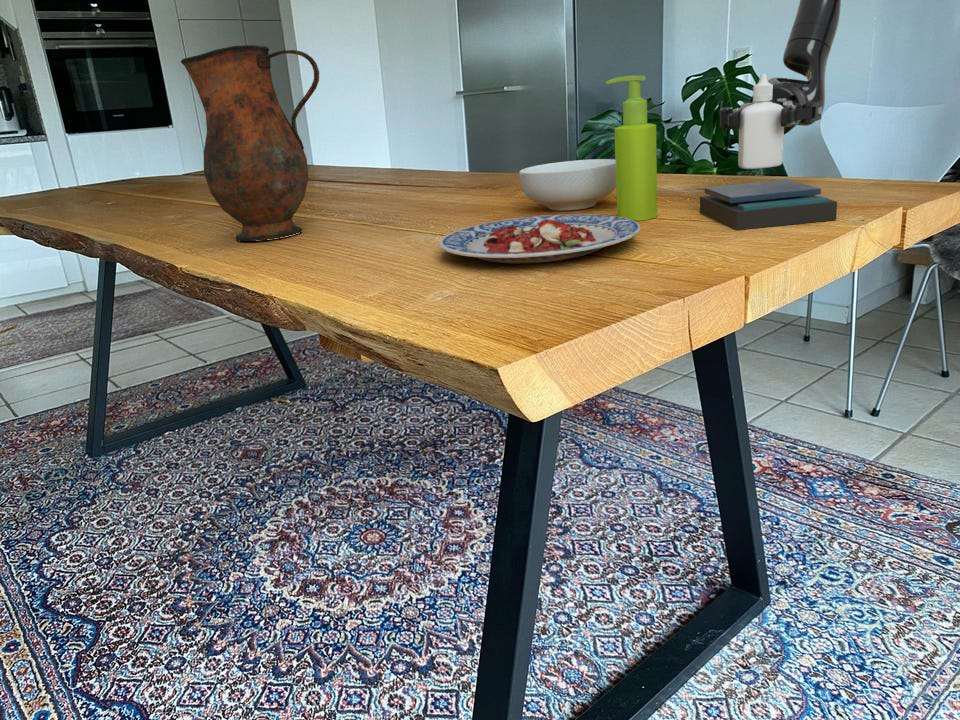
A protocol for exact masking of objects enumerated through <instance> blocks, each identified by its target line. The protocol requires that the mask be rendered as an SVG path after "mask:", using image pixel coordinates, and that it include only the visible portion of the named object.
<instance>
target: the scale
mask: <svg viewBox="0 0 960 720" xmlns="http://www.w3.org/2000/svg"><path fill="white" fill-rule="evenodd" d="M837 210H838V201H837V200H833V199H830V197H825V196H822V195H820V196H819V195H810V196H800V197H790V198H780V199H770V200H760V201H750V202H740V203H729V202H726V201H724V200H721V199H719V198H716V197H714V196H711V195H701V196H699V213H700V214H701V215H704V216H706V217H708V218H710V219H712V220H714V221H716V222H718V223H720V224H722V225H725V226H727V227H729V228H731V229H733V230H735V231H741V230H752V229H761V228H762V229H763V228H771V227H772V228H773V227H783V226H790V225H801V224H802V225H803V224H813V223H823V222H832V221H836V220H837Z"/></svg>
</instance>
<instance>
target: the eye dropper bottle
mask: <svg viewBox="0 0 960 720" xmlns="http://www.w3.org/2000/svg"><path fill="white" fill-rule="evenodd" d="M772 93H773V85H772V84H770V83H769V82H768V75H767V73H762V74H760V76H759V80H758V83H756V84H755V85H753V87H752V96H753V101H755V103H753V104H752V105H750V106H747V107H746V108H744V109H743V110H742V111H741V113H740V123H739V129H738V155H737V156H738V157H737V159H738V160H737V162H738V163H737V166H738V168H740V169H743V170H757V169H758V170H759V169H768V168H775V167H779V166H781V165H782V164H783V159H784V158H783V156H784V139H785V138H784V137H785V135H784V127H781V111H782V109H783V107H782V106H781V105H779V104H776V103H772V102H771V101H770V100H772Z"/></svg>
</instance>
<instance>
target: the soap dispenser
mask: <svg viewBox="0 0 960 720" xmlns="http://www.w3.org/2000/svg"><path fill="white" fill-rule="evenodd" d="M646 77H647V76H646V75H624V76H618V77H614V78H612V79H611V78H610V79H608V80H607V81H605V83H606V85H613V84H617V83H621V82H627V83H628V84H627V86H628V87H627V90H628V98H626V99H625V101H622V125H619V126H617V127H615V128H614V152H615V153H614V155H615V158H614V159H615V160H616V188H615V190H616V217H621V218H627V219H630V220H633V221H635V222H640V221H649V220H653V219H656V218H658V167H657V166H658V165H657V164H658V159H657V157H658V155H657V154H658V153H657V147H658V146H657V124H656V123H655V124H654V123H650V122H649V123H648V100H647V99H645V98H644V97H642V96H641V95H642V91H641V90H642V89H641V88H642V87H641V86H642V85H641V81H646V80H647V79H646Z"/></svg>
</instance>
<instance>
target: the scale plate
mask: <svg viewBox="0 0 960 720" xmlns="http://www.w3.org/2000/svg"><path fill="white" fill-rule="evenodd" d="M704 194H706V195H707V196H710V195H711V196H714V197H716V198H719V199H721V200H724V201H726V202H729V203H740V202H750V201H760V200H770V199H780V198H790V197H800V196H810V195H815V196H819V195H820V196H821V194H822V188H821V187H817V186H815V185H814V186H813V185H811V184H810V185H809V184H805V183H801V182H797V181H793V180H790V179H775V180H766V181H757V182H747V183H736V184H727V185H718V186H708V187H707V186H706V187H704Z"/></svg>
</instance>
